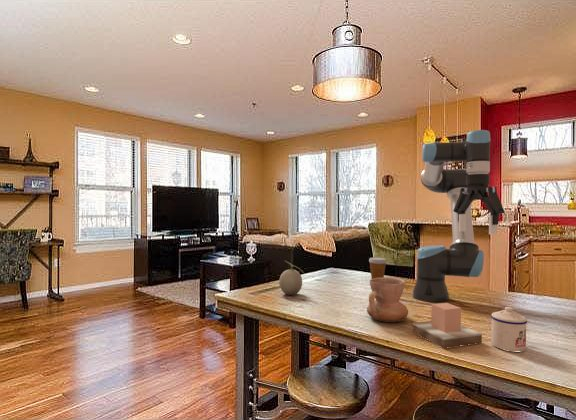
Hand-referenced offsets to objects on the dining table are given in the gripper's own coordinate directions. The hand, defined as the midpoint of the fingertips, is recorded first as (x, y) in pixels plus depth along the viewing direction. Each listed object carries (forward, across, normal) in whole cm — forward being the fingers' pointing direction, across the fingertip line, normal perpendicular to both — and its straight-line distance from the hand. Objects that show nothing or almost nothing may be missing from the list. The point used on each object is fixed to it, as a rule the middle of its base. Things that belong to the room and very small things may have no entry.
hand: (476, 232), depth 128 cm
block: (+29, +11, -23) cm, 38 cm away
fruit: (+32, -53, -53) cm, 81 cm away
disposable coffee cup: (+32, -69, +2) cm, 76 cm away
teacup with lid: (+32, +22, -9) cm, 40 cm away
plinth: (+32, +11, -23) cm, 41 cm away
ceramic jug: (+32, -10, -31) cm, 46 cm away
